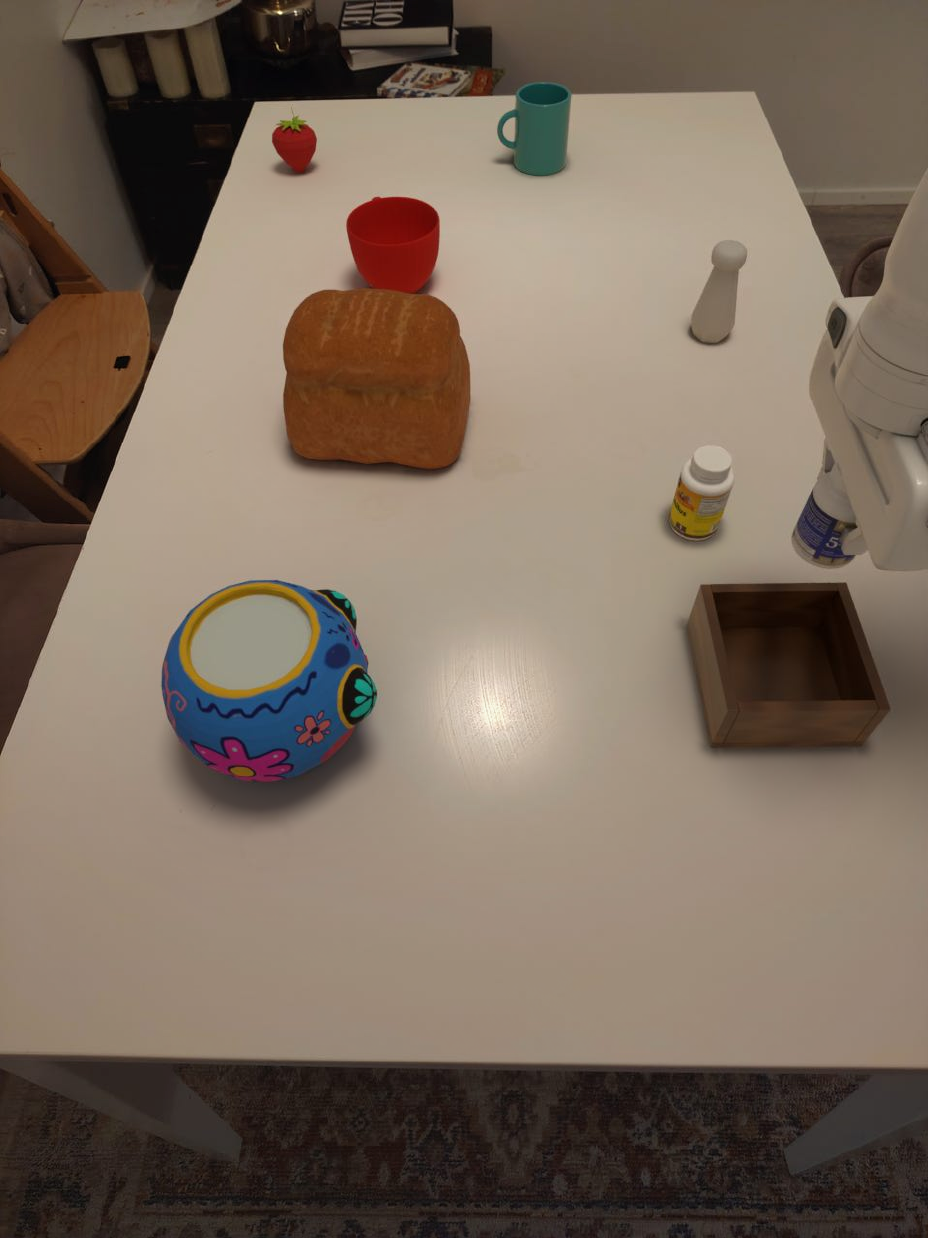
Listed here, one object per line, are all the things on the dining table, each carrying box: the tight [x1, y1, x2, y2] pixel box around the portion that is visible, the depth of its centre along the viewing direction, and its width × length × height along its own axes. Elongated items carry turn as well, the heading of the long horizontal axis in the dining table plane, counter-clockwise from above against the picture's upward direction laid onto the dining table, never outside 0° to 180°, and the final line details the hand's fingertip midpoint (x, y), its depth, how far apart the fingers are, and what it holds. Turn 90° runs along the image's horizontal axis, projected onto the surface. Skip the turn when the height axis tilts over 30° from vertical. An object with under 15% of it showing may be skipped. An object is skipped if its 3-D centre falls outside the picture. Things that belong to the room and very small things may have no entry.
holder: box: [686, 581, 892, 748], centre depth 78 cm, size 14×14×7 cm
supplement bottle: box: [668, 444, 735, 542], centre depth 89 cm, size 6×6×10 cm
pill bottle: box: [790, 462, 858, 570], centre depth 65 cm, size 5×5×9 cm
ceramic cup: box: [345, 196, 441, 294], centre depth 119 cm, size 13×17×10 cm
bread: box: [282, 287, 472, 470], centre depth 97 cm, size 18×22×17 cm
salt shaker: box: [690, 239, 748, 344], centre depth 108 cm, size 6×6×13 cm
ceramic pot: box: [160, 579, 378, 783], centre depth 73 cm, size 18×18×15 cm
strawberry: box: [271, 107, 318, 174], centre depth 138 cm, size 6×8×10 cm
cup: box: [496, 81, 573, 177], centre depth 138 cm, size 9×12×11 cm
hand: (838, 516), depth 66 cm, fingers closed on pill bottle, 5 cm apart
